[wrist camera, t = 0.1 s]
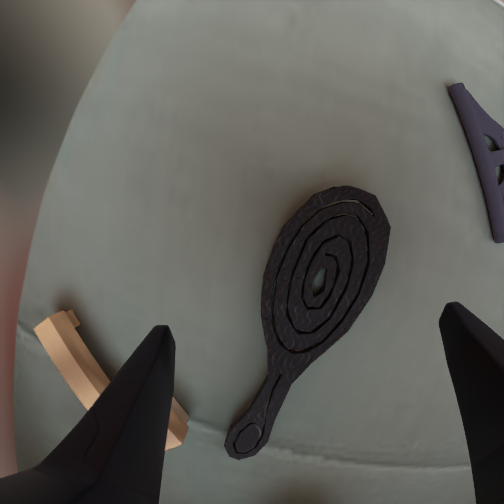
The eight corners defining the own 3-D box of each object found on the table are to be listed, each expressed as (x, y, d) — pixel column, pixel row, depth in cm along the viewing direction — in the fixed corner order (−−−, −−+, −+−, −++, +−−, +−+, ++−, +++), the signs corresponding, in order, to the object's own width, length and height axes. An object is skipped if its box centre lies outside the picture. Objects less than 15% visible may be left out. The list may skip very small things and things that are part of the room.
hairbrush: (186, 457, 23) (310, 163, 20) (194, 433, 27) (303, 169, 23) (276, 484, 23) (421, 215, 20) (276, 458, 27) (400, 213, 23)
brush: (192, 417, 26) (182, 444, 22) (117, 447, 27) (102, 470, 22) (100, 285, 25) (74, 295, 21) (35, 334, 26) (10, 347, 22)
